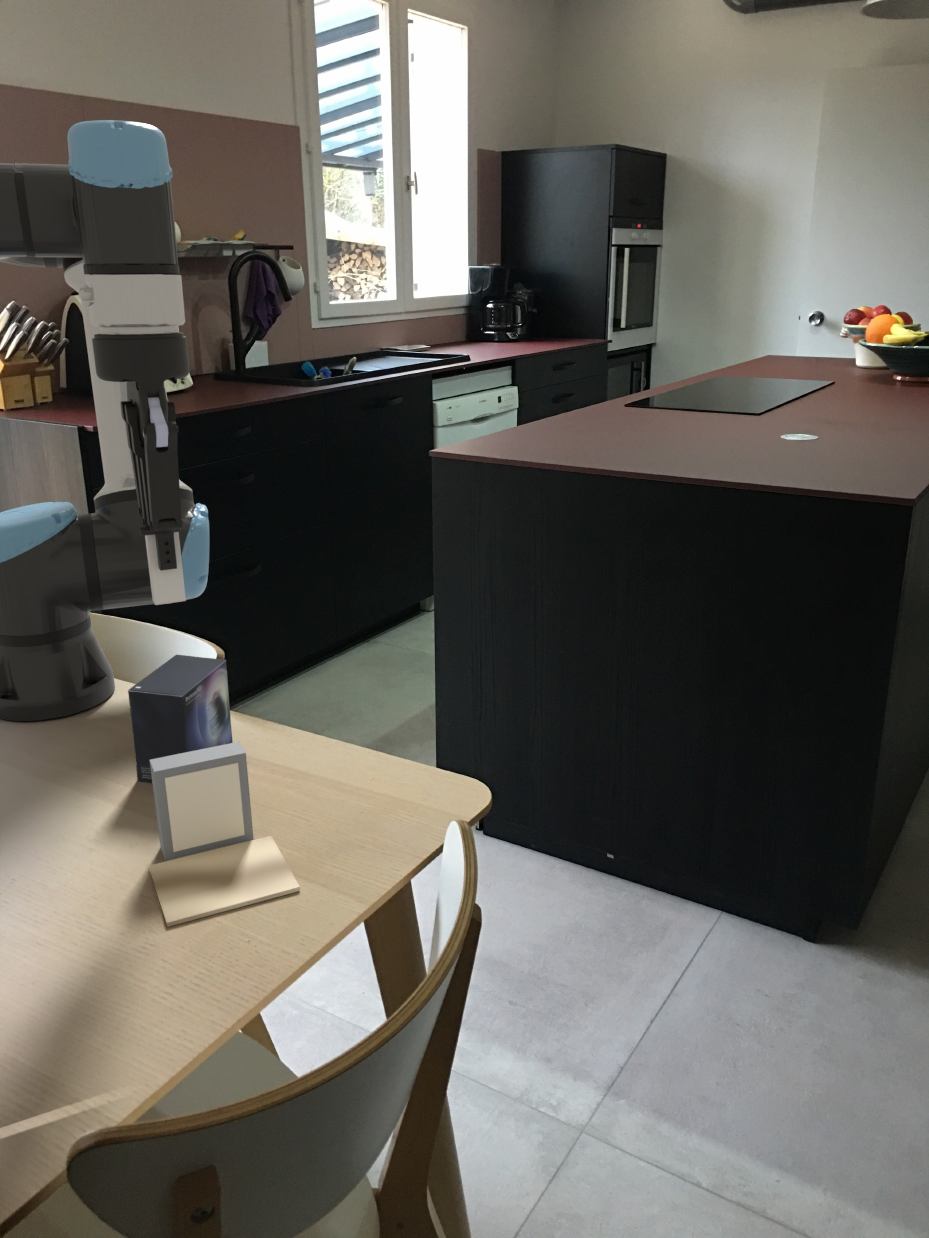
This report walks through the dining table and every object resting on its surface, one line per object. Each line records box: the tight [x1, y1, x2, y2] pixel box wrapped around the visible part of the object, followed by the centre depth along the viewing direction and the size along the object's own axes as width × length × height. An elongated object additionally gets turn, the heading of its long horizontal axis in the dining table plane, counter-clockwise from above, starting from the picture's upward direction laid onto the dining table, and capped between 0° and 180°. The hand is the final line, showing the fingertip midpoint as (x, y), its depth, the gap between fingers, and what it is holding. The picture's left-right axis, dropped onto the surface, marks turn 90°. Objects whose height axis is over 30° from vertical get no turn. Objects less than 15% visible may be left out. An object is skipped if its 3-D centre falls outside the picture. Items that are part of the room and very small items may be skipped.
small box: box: [127, 654, 234, 784], centre depth 103 cm, size 11×6×10 cm, turn 168°
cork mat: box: [148, 835, 301, 928], centre depth 84 cm, size 9×11×1 cm
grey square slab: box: [150, 741, 255, 862], centre depth 88 cm, size 3×8×9 cm, turn 116°
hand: (169, 600), depth 88 cm, fingers closed
